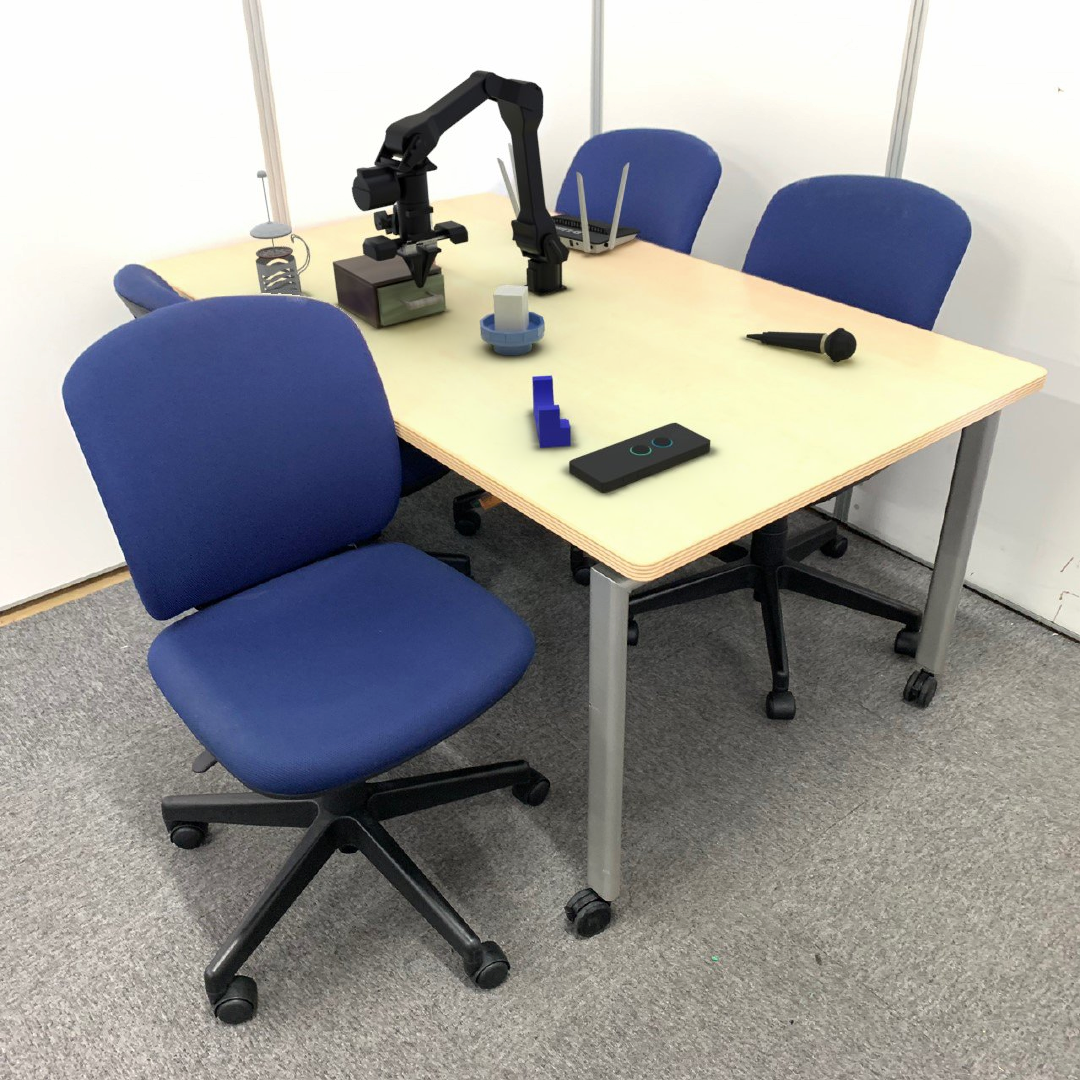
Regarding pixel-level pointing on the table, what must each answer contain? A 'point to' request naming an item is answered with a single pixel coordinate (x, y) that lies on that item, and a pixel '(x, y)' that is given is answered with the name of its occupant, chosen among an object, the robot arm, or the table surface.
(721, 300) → the table surface
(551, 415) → the blue stepped block
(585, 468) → the smart home device
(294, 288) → the french press
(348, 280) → the cabinet
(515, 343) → the blue bowl
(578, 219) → the wireless router
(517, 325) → the white block
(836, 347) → the microphone
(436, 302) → the drawer
